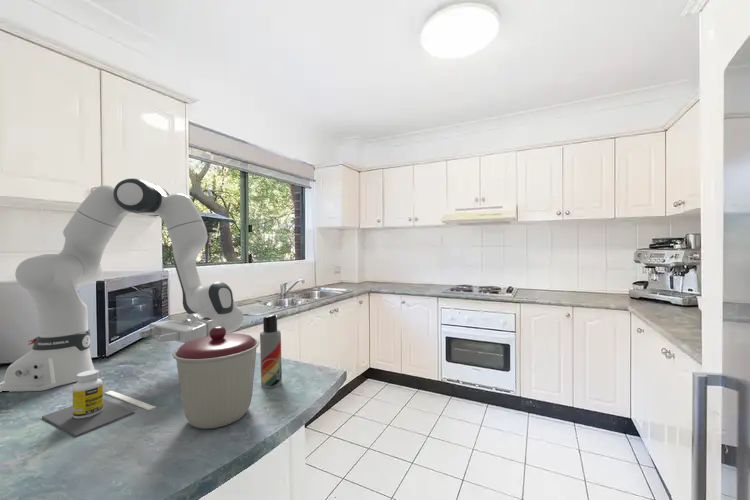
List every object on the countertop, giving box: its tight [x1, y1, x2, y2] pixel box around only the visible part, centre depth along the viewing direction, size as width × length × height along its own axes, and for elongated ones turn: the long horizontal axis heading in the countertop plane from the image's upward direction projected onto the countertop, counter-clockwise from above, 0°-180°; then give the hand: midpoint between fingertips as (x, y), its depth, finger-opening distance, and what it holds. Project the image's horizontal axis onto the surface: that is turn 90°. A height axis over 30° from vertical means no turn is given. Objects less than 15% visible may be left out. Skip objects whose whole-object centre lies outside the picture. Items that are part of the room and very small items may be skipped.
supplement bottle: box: [72, 369, 104, 419], centre depth 77 cm, size 5×5×10 cm
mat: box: [41, 398, 136, 438], centre depth 77 cm, size 18×11×1 cm, turn 62°
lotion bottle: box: [259, 314, 283, 389], centre depth 93 cm, size 6×6×20 cm
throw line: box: [104, 390, 156, 412], centre depth 84 cm, size 22×2×1 cm, turn 62°
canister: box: [171, 326, 260, 430], centre depth 75 cm, size 18×18×21 cm
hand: (148, 336), depth 91 cm, fingers open, 8 cm apart
